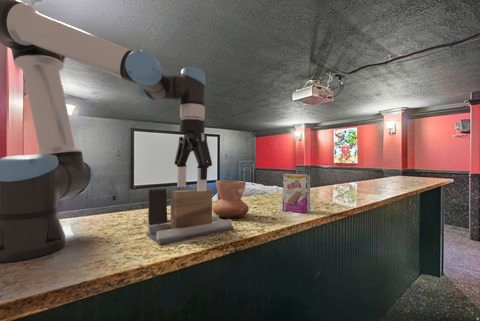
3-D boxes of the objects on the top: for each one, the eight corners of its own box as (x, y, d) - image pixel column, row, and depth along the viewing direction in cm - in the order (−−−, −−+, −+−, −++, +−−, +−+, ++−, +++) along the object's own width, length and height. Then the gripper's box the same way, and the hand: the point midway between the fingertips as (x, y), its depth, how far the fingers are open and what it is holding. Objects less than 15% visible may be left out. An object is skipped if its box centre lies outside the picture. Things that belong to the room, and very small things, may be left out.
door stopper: (167, 224, 85) (167, 189, 86) (148, 226, 83) (149, 190, 83) (164, 218, 94) (165, 187, 94) (148, 220, 92) (148, 187, 92)
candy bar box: (282, 211, 109) (282, 174, 109) (286, 209, 113) (286, 173, 113) (307, 214, 103) (307, 175, 103) (310, 212, 107) (310, 174, 107)
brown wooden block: (211, 227, 78) (212, 189, 78) (176, 233, 71) (176, 192, 71) (205, 224, 81) (205, 188, 81) (170, 230, 74) (170, 190, 74)
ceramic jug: (257, 218, 96) (257, 181, 96) (224, 222, 88) (224, 182, 88) (234, 211, 111) (234, 179, 111) (204, 214, 103) (204, 180, 104)
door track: (159, 245, 64) (159, 233, 64) (146, 235, 73) (146, 224, 73) (233, 229, 79) (233, 220, 79) (215, 222, 88) (215, 214, 88)
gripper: (225, 116, 69) (223, 192, 68) (185, 125, 88) (184, 184, 88) (201, 112, 64) (199, 194, 64) (165, 123, 84) (164, 185, 84)
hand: (190, 188), depth 76 cm, fingers open, 13 cm apart
